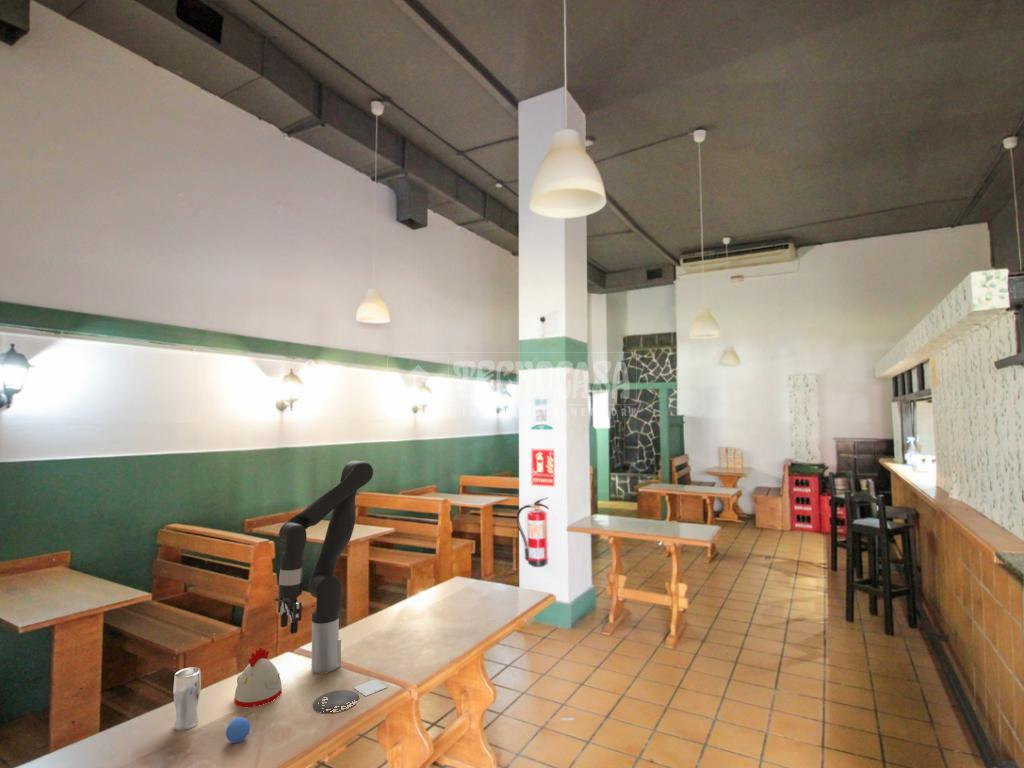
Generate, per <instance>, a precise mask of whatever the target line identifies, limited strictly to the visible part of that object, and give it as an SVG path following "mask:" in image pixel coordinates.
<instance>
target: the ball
mask: <svg viewBox="0 0 1024 768" xmlns="http://www.w3.org/2000/svg"><path fill="white" fill-rule="evenodd" d="M250 731H251V723H250V721H249V720H248V719H247V718H246V717H242V716H239V717H236V718H234V719H233V720H231V721H230V722H229V724H228V725H227V727H226V730H225V735H226V738H227V740H228V741H229V742H230V743H233V744H237V743H240V742H242V741H244V740H245V739H246V738H247V737H248V736H249V733H250Z"/></svg>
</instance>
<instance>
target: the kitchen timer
mask: <svg viewBox="0 0 1024 768" xmlns="http://www.w3.org/2000/svg"><path fill="white" fill-rule="evenodd" d="M269 653H270V651H269V650H266V649H263V648H262V647H259V649H256V650H255V652H251V658H248V659H247V660H248V664H247V666H246V667H245V668H244V669H243V671H242V672H241V673H240V674H239V675H237V678H236V683H237V684H236V688H235V692H234V704H235V706H237V705H238V707H239V706H240V708H244V707H248V708H254V707H253V706H257V707H260V706H259V705H261V706H264V705H263V704H265V705H267V704H269V703H268V702H270V703H272V702H274V701H275V700H277V699H278V698H279V697H280V696H281V695H282V690H283V689H282V688H283V687H282V678H281V675H280V673H279V670H278V669H277V667H276V665H274V663H273V662H272V661H270V660H269V659H268V656H269ZM280 694H281V695H280ZM278 696H279V697H278ZM277 697H278V698H277ZM276 698H277V699H276ZM274 699H275V700H274ZM273 700H274V701H273ZM271 701H272V702H271ZM266 703H267V704H266Z"/></svg>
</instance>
